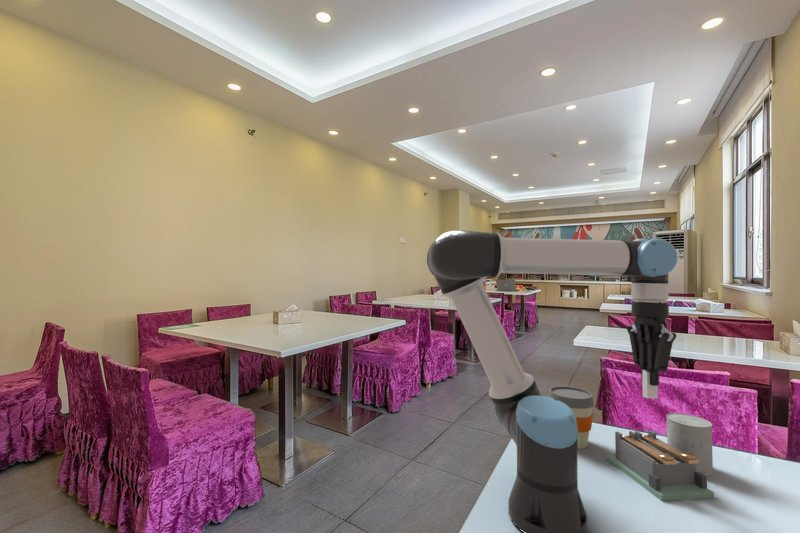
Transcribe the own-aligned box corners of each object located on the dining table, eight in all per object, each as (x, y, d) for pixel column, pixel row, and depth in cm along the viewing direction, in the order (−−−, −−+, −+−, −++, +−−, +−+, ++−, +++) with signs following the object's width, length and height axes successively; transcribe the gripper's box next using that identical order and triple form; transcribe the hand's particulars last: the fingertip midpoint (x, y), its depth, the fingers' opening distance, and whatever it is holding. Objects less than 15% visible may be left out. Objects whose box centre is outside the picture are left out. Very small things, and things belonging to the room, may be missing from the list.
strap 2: (688, 465, 81) (687, 457, 81) (638, 439, 96) (638, 433, 96) (699, 464, 82) (698, 457, 82) (648, 439, 96) (647, 433, 97)
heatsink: (661, 500, 79) (660, 463, 79) (607, 459, 97) (607, 429, 97) (714, 497, 80) (713, 461, 81) (651, 457, 98) (650, 428, 98)
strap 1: (665, 466, 81) (665, 458, 81) (619, 440, 96) (619, 434, 96) (677, 465, 81) (676, 458, 81) (629, 440, 96) (628, 433, 96)
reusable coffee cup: (542, 432, 114) (542, 385, 115) (581, 432, 114) (580, 386, 114) (559, 451, 101) (559, 399, 102) (603, 452, 101) (602, 399, 102)
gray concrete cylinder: (661, 454, 100) (660, 411, 100) (702, 460, 97) (701, 415, 97) (675, 472, 91) (674, 424, 91) (721, 479, 88) (720, 429, 88)
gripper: (687, 303, 81) (688, 406, 80) (643, 299, 94) (643, 388, 93) (656, 302, 80) (657, 407, 80) (616, 299, 93) (617, 389, 92)
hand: (650, 397), depth 86 cm, fingers closed
